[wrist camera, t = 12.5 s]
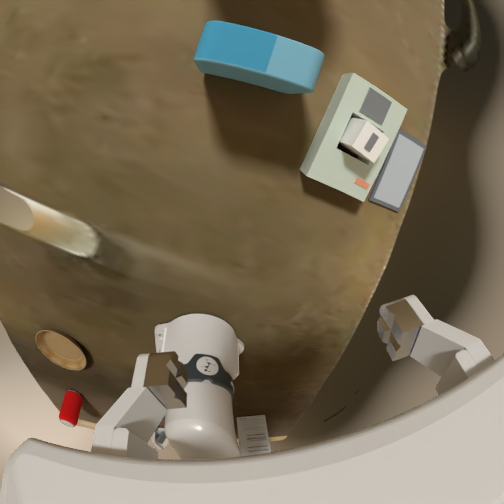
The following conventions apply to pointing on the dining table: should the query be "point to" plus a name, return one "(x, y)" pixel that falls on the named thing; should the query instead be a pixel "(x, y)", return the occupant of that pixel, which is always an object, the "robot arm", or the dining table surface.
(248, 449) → the supplement box
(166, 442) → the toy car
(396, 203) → the phone
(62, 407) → the beverage can
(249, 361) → the dining table surface
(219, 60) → the blue rounded block
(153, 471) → the robot arm
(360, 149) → the plug
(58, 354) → the plant saucer
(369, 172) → the socket strip
